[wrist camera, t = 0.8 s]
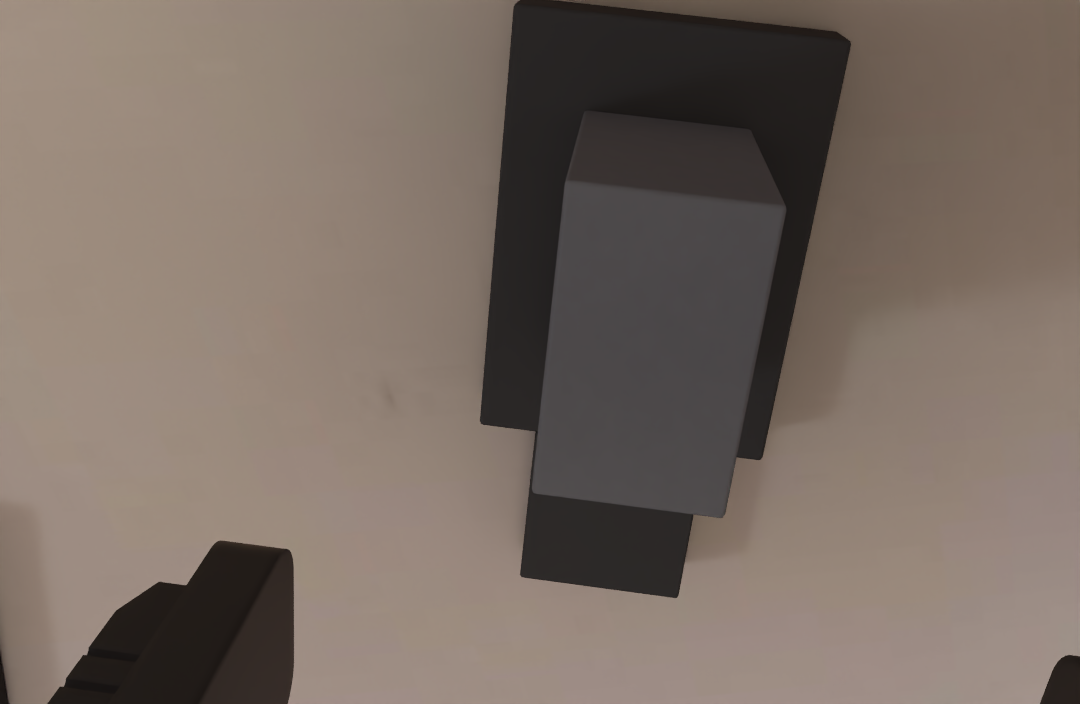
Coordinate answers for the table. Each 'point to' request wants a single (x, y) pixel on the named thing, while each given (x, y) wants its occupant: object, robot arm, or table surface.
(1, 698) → the notch pad
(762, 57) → the pad
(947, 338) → the table surface
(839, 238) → the table surface
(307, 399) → the table surface
